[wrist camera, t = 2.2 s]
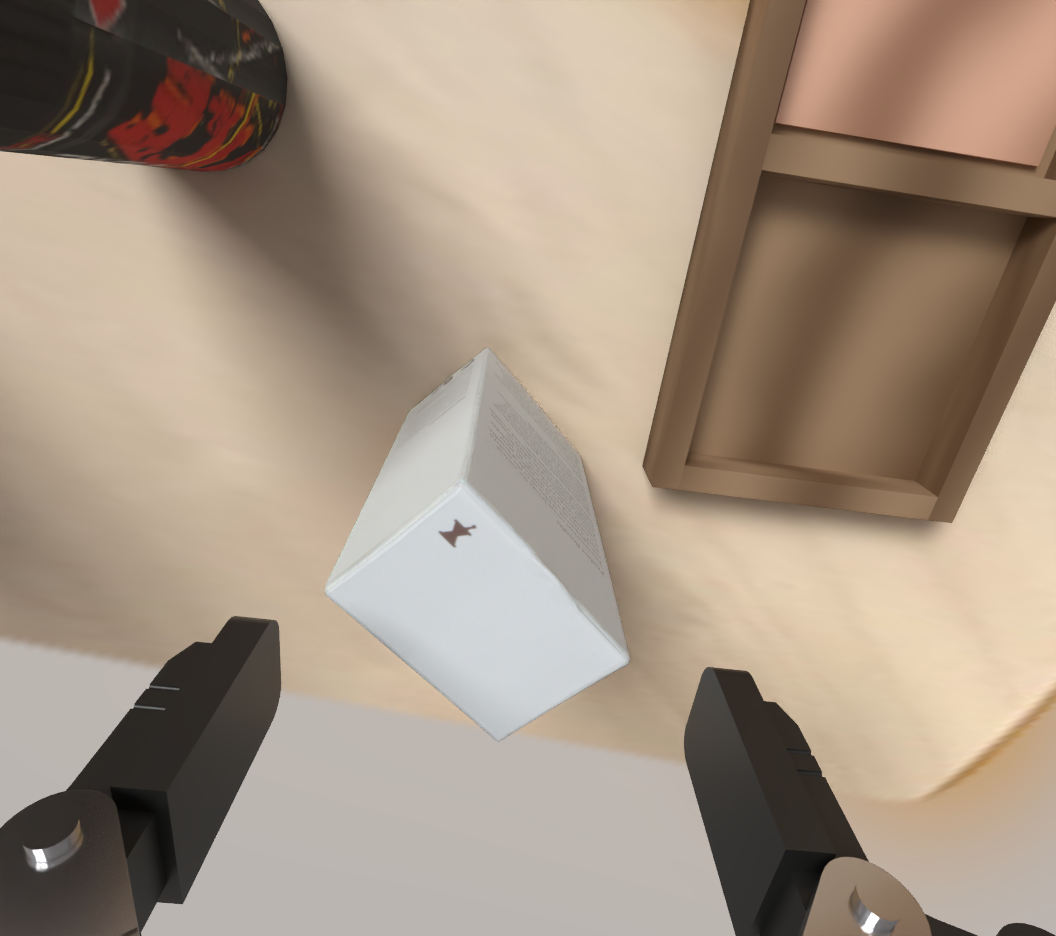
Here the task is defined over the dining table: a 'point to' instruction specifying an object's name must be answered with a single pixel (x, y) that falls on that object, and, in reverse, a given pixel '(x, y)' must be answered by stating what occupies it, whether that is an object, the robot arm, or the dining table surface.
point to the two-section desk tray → (866, 255)
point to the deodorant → (140, 81)
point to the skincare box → (484, 555)
